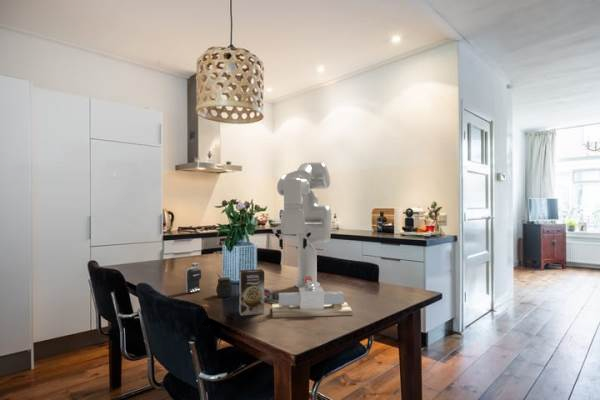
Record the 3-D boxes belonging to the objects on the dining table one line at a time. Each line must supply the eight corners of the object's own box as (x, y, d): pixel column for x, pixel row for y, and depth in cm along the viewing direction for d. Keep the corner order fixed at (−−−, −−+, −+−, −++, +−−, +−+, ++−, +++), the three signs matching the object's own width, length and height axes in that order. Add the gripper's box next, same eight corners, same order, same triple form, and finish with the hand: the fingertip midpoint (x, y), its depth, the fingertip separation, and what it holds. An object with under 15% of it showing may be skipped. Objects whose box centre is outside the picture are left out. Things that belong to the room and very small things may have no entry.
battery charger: (190, 294, 162) (190, 269, 163) (185, 293, 165) (185, 269, 165) (202, 291, 168) (202, 267, 168) (197, 290, 170) (197, 266, 170)
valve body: (278, 305, 138) (278, 288, 138) (341, 304, 140) (341, 286, 141) (279, 311, 131) (279, 292, 131) (344, 309, 134) (344, 290, 134)
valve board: (272, 307, 141) (272, 300, 141) (345, 305, 143) (345, 298, 143) (272, 317, 129) (272, 309, 129) (352, 315, 131) (352, 306, 131)
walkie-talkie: (245, 297, 158) (276, 306, 144) (245, 287, 158) (276, 295, 145) (259, 294, 164) (290, 301, 151) (259, 284, 165) (290, 291, 151)
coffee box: (240, 316, 131) (240, 272, 131) (238, 311, 137) (238, 269, 137) (264, 313, 133) (264, 271, 133) (261, 309, 139) (261, 268, 140)
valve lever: (303, 280, 150) (303, 276, 150) (310, 280, 151) (310, 276, 151) (307, 289, 135) (307, 284, 135) (315, 289, 135) (315, 284, 135)
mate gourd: (227, 298, 155) (226, 276, 155) (212, 297, 157) (211, 275, 158) (235, 294, 162) (234, 272, 162) (221, 293, 164) (220, 272, 164)
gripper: (312, 207, 151) (312, 247, 151) (271, 207, 150) (272, 247, 149) (314, 207, 144) (314, 249, 144) (272, 207, 142) (272, 250, 142)
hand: (293, 248), depth 146 cm, fingers open, 9 cm apart
